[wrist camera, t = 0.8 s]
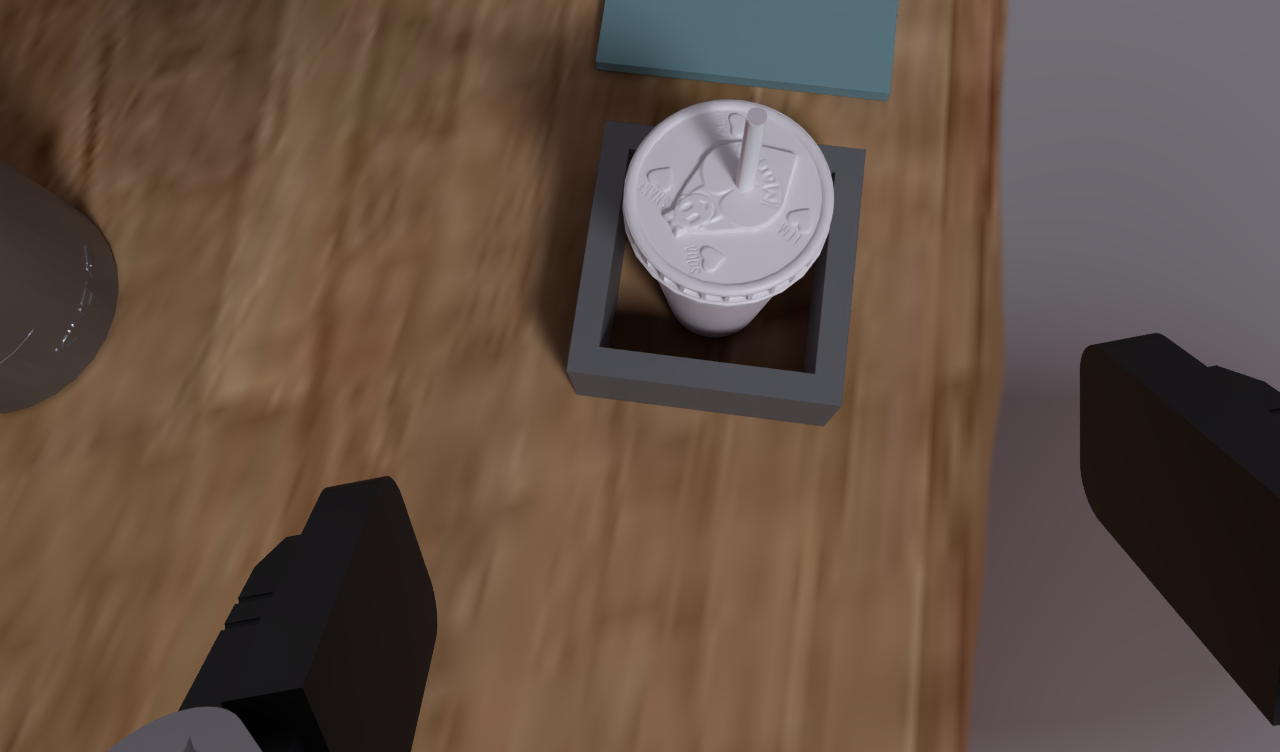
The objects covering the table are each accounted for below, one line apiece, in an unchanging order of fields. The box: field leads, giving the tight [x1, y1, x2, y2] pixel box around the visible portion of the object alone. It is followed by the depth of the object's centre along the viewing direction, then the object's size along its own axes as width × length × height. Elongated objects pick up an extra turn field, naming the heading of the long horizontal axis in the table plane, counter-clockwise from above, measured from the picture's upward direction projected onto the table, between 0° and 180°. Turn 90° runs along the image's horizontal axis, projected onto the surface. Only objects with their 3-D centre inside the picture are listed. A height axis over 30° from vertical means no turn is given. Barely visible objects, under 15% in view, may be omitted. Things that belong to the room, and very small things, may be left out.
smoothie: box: [622, 99, 834, 338], centre depth 32 cm, size 6×6×14 cm
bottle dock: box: [566, 121, 866, 426], centre depth 37 cm, size 10×10×4 cm
